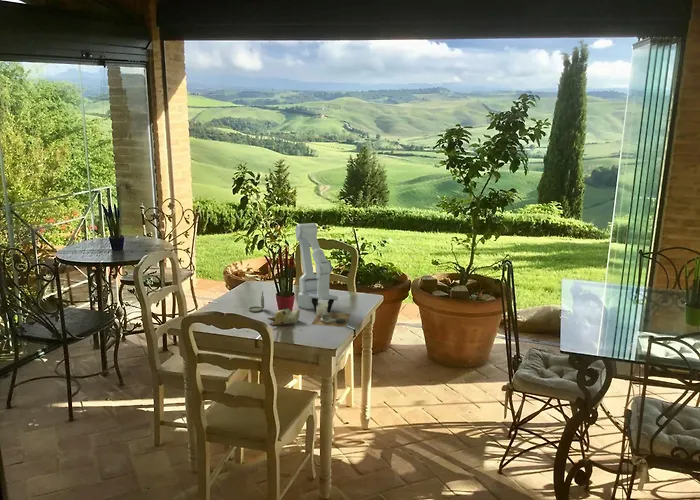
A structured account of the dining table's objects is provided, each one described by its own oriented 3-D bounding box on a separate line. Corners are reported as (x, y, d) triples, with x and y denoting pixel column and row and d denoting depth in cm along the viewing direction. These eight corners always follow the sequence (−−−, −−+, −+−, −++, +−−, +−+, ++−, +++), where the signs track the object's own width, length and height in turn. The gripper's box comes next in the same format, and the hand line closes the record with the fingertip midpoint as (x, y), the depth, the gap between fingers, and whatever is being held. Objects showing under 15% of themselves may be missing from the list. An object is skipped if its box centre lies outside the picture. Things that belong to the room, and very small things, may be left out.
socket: (316, 316, 280) (316, 306, 279) (318, 313, 286) (318, 302, 284) (327, 317, 280) (327, 306, 279) (329, 314, 285) (329, 303, 284)
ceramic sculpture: (301, 309, 268) (268, 313, 264) (302, 327, 270) (270, 331, 266) (297, 302, 278) (266, 306, 274) (298, 319, 280) (267, 323, 276)
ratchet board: (311, 327, 270) (311, 316, 269) (318, 314, 289) (318, 303, 287) (345, 330, 268) (345, 318, 267) (350, 316, 287) (350, 306, 286)
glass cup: (246, 310, 292) (246, 291, 289) (259, 306, 298) (259, 287, 296) (256, 314, 286) (256, 294, 284) (269, 310, 292) (269, 291, 290)
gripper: (306, 288, 276) (306, 315, 279) (336, 290, 275) (336, 317, 278) (309, 284, 283) (309, 310, 286) (339, 286, 282) (338, 312, 285)
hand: (322, 313), depth 282 cm, fingers closed on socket, 5 cm apart
